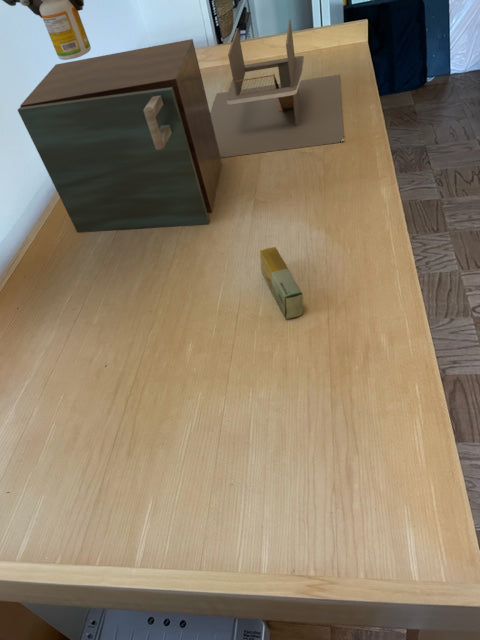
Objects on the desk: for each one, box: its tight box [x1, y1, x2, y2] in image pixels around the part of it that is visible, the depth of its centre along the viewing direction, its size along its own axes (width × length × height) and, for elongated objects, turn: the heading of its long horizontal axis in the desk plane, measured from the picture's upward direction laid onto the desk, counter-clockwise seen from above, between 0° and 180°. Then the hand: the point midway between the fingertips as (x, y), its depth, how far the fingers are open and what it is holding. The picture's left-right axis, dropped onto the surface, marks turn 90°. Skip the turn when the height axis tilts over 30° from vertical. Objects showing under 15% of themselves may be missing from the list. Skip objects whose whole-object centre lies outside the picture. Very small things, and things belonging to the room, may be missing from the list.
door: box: [17, 87, 210, 233], centre depth 89 cm, size 6×26×24 cm, turn 80°
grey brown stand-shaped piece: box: [210, 18, 345, 159], centre depth 117 cm, size 31×35×17 cm
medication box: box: [259, 246, 304, 320], centre depth 77 cm, size 12×3×4 cm, turn 16°
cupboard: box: [19, 38, 223, 214], centre depth 99 cm, size 18×26×24 cm
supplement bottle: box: [39, 0, 92, 61], centre depth 81 cm, size 5×5×10 cm
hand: (61, 8), depth 81 cm, fingers closed on supplement bottle, 5 cm apart
